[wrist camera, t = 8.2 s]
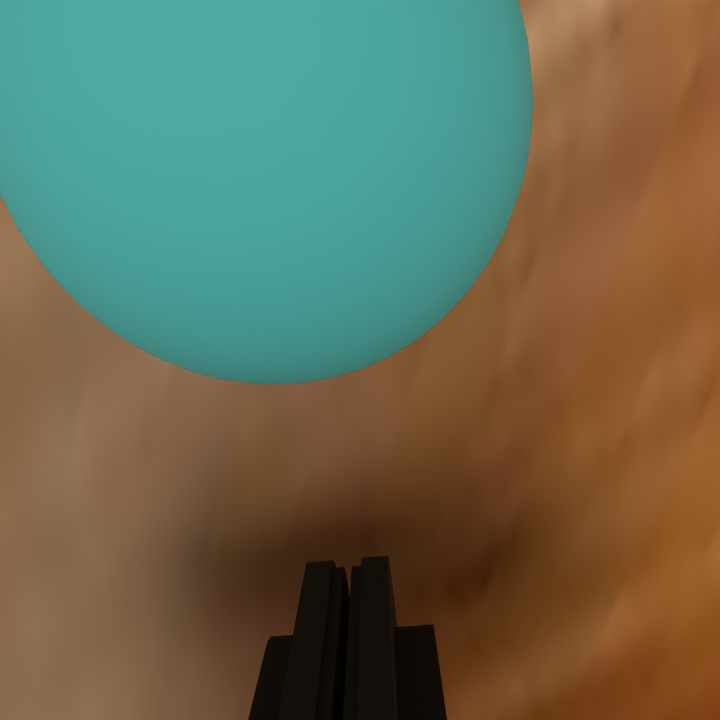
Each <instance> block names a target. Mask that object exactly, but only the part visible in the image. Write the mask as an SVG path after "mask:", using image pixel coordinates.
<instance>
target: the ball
mask: <svg viewBox="0 0 720 720" xmlns="http://www.w3.org/2000/svg"><path fill="white" fill-rule="evenodd" d="M532 108H533V92H532V80H531V68H530V58H529V48H528V39H527V35H526V31H525V27H524V22H523V18H522V14H521V10H520V6H519V3H518V0H0V194H1V196H2V198H3V201H4V203H5V205H6V207H7V208H8V210H9V212H10V214H11V216H12V218H13V220H14V222H15V224H16V226H17V228H18V230H19V232H20V233H21V234H22V236H23V237H24V239H25V240H26V241H27V243H28V244H29V246H30V247H31V248H32V250H33V251H34V253H35V254H36V255H37V257H38V258H39V260H40V261H41V262H42V263H43V265H44V266H45V267H46V269H47V270H48V271H49V273H50V274H51V275H52V277H53V278H54V279H55V280H56V281H57V282H58V283H59V284H60V285H61V286H62V287H63V288H64V289H65V290H66V292H67V293H68V294H69V295H70V296H71V297H72V298H73V299H74V300H75V301H76V302H77V303H78V304H80V305H81V306H82V307H83V308H84V309H85V310H87V311H88V312H89V313H90V314H91V315H92V316H94V317H95V318H96V319H97V320H99V321H100V322H101V323H103V324H104V325H105V326H107V327H108V328H109V329H110V330H112V331H113V332H114V333H116V334H117V335H118V336H120V337H121V338H123V339H125V340H127V341H128V342H130V343H132V344H134V345H136V346H137V347H139V348H141V349H143V350H144V351H146V352H148V353H150V354H152V355H154V356H156V357H158V358H160V359H162V360H164V361H167V362H169V363H172V364H174V365H177V366H179V367H182V368H184V369H187V370H189V371H192V372H195V373H199V374H204V375H208V376H212V377H216V378H220V379H224V380H231V381H239V382H248V383H258V384H299V383H305V382H311V381H317V380H324V379H330V378H333V377H336V376H340V375H343V374H347V373H350V372H353V371H357V370H360V369H362V368H365V367H367V366H369V365H371V364H374V363H376V362H378V361H380V360H383V359H385V358H387V357H389V356H391V355H393V354H394V353H396V352H398V351H399V350H401V349H402V348H404V347H406V346H407V345H409V344H411V343H412V342H414V341H416V340H417V339H418V338H420V337H421V336H422V335H423V334H424V333H426V332H427V331H428V330H429V329H431V328H432V327H433V326H434V325H436V324H437V323H438V322H439V321H441V320H442V319H443V318H444V317H445V315H446V314H447V313H448V312H449V311H450V310H451V309H452V308H453V307H454V306H455V305H456V304H457V303H458V302H459V301H460V300H461V299H462V298H463V296H464V295H465V294H466V293H467V292H468V290H469V289H470V288H471V286H472V285H473V284H474V282H475V281H476V279H477V278H478V277H479V275H480V274H481V273H482V271H483V270H484V268H485V267H486V266H487V264H488V263H489V261H490V259H491V257H492V256H493V254H494V252H495V250H496V248H497V246H498V244H499V242H500V240H501V239H502V237H503V235H504V233H505V230H506V227H507V225H508V222H509V220H510V217H511V214H512V211H513V209H514V206H515V203H516V200H517V198H518V195H519V192H520V189H521V187H522V182H523V177H524V173H525V168H526V163H527V158H528V153H529V145H530V136H531V124H532Z"/></svg>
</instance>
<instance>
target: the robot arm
mask: <svg viewBox="0 0 720 720" xmlns="http://www.w3.org/2000/svg"><path fill="white" fill-rule="evenodd" d="M248 720H447V717H446V710H445V703H444V696H443V689H442V681H441V674H440V667H439V660H438V653H437V646H436V639H435V633H434V626H433V624H432V625H419V626H405V627H397V620H396V612H395V604H394V596H393V588H392V580H391V572H390V564H389V557H388V556H379V557H367V558H362V562H361V566H352V573H351V589H350V596H349V589H348V583H347V577H346V571H345V567H338V568H336V565H335V562H334V561H333V560H331V561H319V562H308V563H307V564H306V568H305V573H304V579H303V584H302V589H301V595H300V600H299V605H298V611H297V616H296V621H295V627H294V632H293V635H286V636H273V637H270V639H269V640H268V643H267V646H266V649H265V653H264V658H263V662H262V666H261V670H260V674H259V678H258V682H257V686H256V690H255V695H254V699H253V703H252V707H251V711H250V715H249V719H248Z"/></svg>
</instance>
